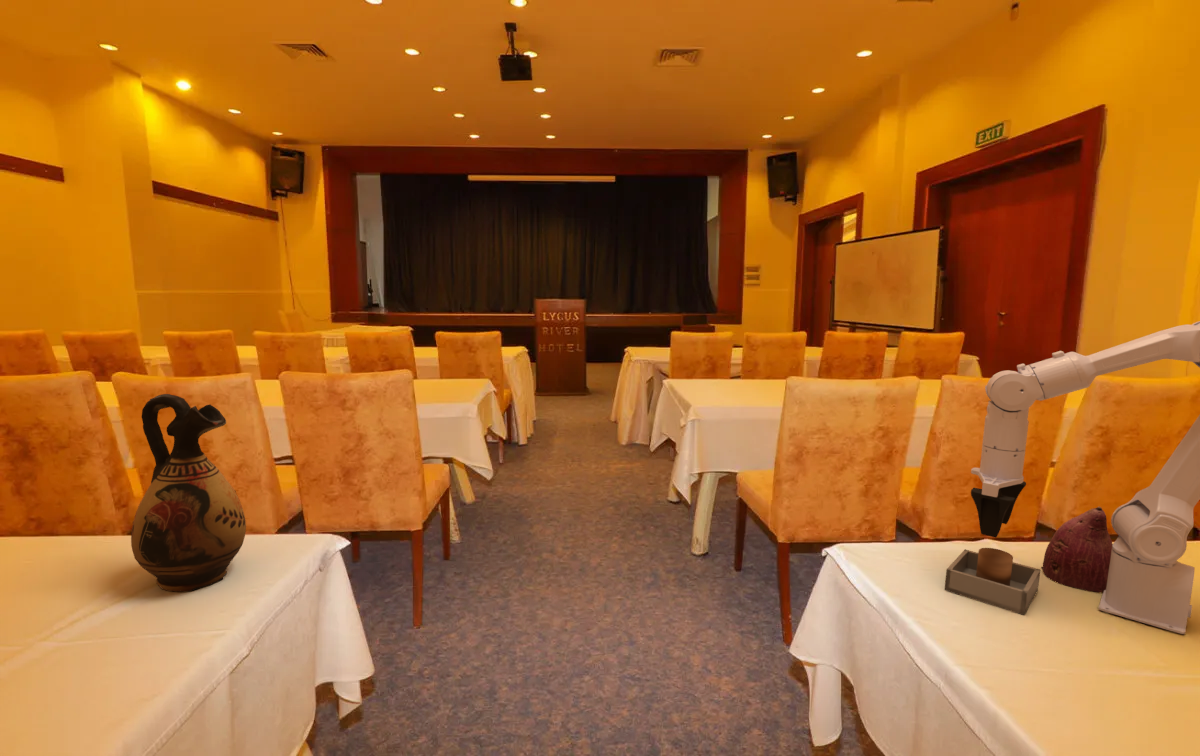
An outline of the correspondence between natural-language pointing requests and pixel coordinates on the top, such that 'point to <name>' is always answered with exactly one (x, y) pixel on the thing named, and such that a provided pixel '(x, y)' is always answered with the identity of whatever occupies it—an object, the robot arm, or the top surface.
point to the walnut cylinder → (994, 565)
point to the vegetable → (1080, 552)
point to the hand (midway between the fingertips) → (994, 528)
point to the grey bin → (992, 584)
